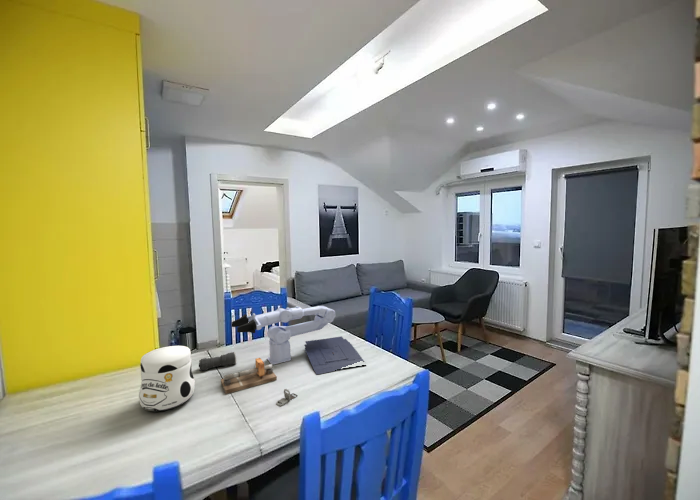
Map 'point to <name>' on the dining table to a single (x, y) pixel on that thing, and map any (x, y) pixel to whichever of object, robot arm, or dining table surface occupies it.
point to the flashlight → (217, 361)
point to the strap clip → (286, 398)
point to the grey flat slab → (331, 354)
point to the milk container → (166, 378)
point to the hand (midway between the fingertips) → (234, 327)
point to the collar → (260, 366)
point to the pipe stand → (247, 379)
